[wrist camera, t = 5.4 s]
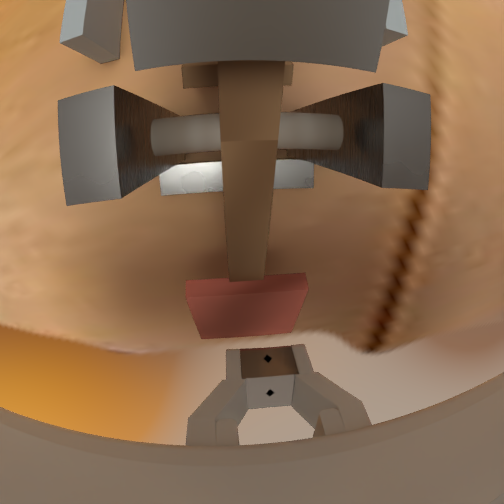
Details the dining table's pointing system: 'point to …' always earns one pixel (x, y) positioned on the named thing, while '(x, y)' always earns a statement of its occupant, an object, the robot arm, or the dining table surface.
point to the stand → (210, 173)
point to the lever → (250, 125)
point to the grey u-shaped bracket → (110, 18)
